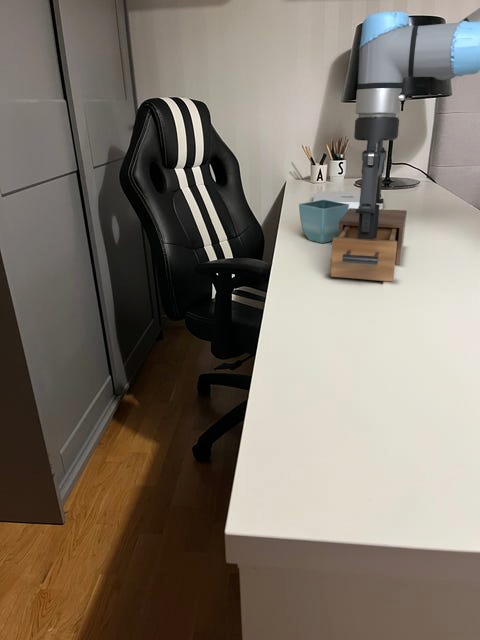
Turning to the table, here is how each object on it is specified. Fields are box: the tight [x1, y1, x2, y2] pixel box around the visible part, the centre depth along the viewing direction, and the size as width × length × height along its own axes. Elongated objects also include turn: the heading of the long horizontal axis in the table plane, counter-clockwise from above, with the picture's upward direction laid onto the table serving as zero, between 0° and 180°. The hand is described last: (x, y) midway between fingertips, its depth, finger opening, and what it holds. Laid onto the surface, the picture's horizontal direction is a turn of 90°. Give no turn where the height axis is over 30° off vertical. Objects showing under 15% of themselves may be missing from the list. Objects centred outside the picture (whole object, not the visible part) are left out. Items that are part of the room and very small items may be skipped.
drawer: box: [330, 225, 397, 283], centre depth 95 cm, size 19×11×7 cm, turn 161°
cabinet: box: [338, 208, 408, 266], centre depth 108 cm, size 15×13×9 cm
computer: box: [312, 190, 384, 210], centre depth 167 cm, size 22×22×3 cm
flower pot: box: [298, 200, 349, 244], centre depth 122 cm, size 9×9×9 cm
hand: (367, 242), depth 96 cm, fingers open, 9 cm apart
